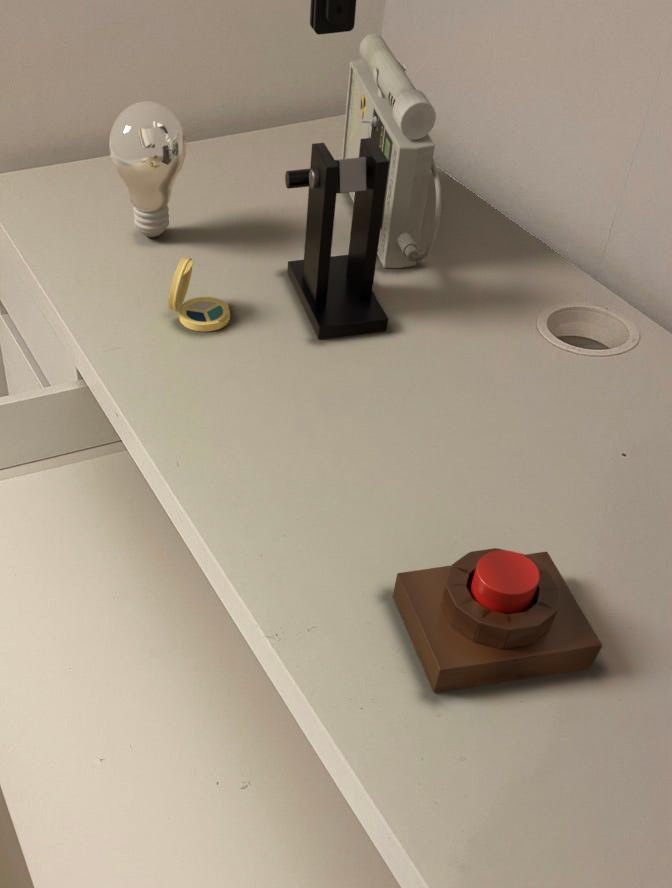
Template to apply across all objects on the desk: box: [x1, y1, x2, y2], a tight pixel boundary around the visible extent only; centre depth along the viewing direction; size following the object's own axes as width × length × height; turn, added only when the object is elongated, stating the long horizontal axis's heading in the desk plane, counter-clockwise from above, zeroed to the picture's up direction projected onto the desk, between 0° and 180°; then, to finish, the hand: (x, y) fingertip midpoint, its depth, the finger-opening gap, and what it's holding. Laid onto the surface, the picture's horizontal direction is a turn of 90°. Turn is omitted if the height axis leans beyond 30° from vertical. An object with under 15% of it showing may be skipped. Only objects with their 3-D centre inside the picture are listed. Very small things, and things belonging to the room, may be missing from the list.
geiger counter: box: [341, 33, 442, 269], centre depth 89 cm, size 14×6×25 cm
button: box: [471, 549, 540, 614], centre depth 58 cm, size 4×4×2 cm
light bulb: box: [108, 100, 187, 239], centre depth 90 cm, size 7×7×12 cm
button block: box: [392, 547, 603, 694], centre depth 59 cm, size 10×8×4 cm
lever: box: [284, 157, 367, 194], centre depth 82 cm, size 12×5×2 cm, turn 10°
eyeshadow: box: [168, 257, 231, 332], centre depth 83 cm, size 4×5×5 cm
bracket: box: [286, 138, 389, 340], centre depth 81 cm, size 11×6×13 cm, turn 10°
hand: (331, 28), depth 77 cm, fingers closed
